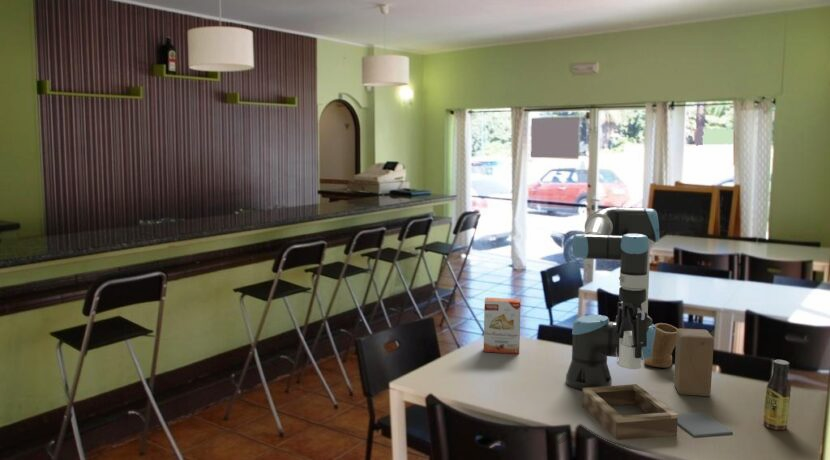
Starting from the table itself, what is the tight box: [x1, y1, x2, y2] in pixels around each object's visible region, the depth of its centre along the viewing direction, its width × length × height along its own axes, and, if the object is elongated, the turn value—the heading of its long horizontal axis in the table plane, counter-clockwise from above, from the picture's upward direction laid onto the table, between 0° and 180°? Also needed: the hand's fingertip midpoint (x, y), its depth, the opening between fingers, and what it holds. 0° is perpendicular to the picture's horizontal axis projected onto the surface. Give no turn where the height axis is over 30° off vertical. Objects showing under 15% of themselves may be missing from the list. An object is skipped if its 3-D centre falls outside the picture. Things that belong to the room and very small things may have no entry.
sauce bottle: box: [762, 359, 792, 431], centre depth 195 cm, size 6×6×20 cm
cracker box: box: [483, 297, 522, 355], centre depth 265 cm, size 14×6×21 cm, turn 80°
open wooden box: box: [581, 383, 679, 441], centre depth 202 cm, size 24×18×6 cm
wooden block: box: [673, 327, 715, 397], centre depth 223 cm, size 10×10×20 cm
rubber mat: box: [677, 411, 734, 438], centre depth 198 cm, size 14×12×1 cm
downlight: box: [616, 331, 645, 370], centre depth 199 cm, size 8×7×10 cm
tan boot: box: [643, 322, 678, 368], centre depth 251 cm, size 15×12×15 cm
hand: (629, 363), depth 200 cm, fingers closed on downlight, 7 cm apart
